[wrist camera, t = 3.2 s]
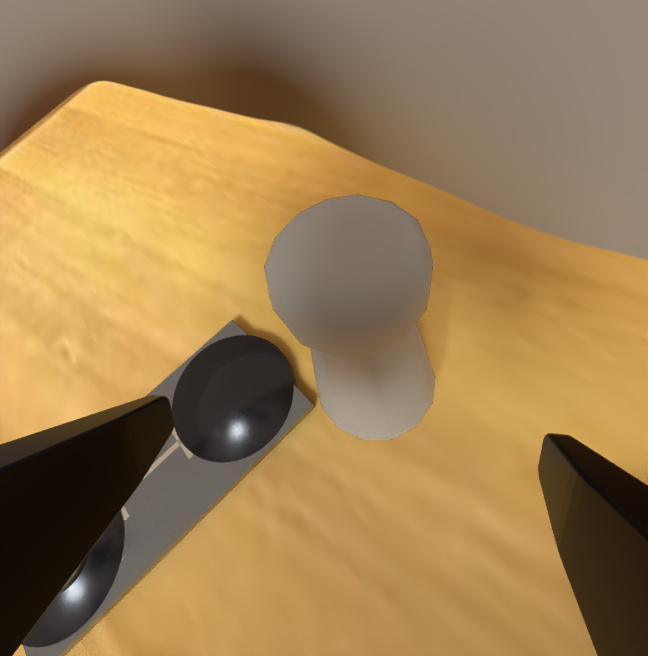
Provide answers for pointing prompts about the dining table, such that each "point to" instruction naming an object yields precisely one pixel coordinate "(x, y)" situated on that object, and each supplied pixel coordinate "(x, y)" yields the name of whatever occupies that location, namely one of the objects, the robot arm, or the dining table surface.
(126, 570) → the plate
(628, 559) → the robot arm
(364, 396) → the salt shaker
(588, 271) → the dining table surface
